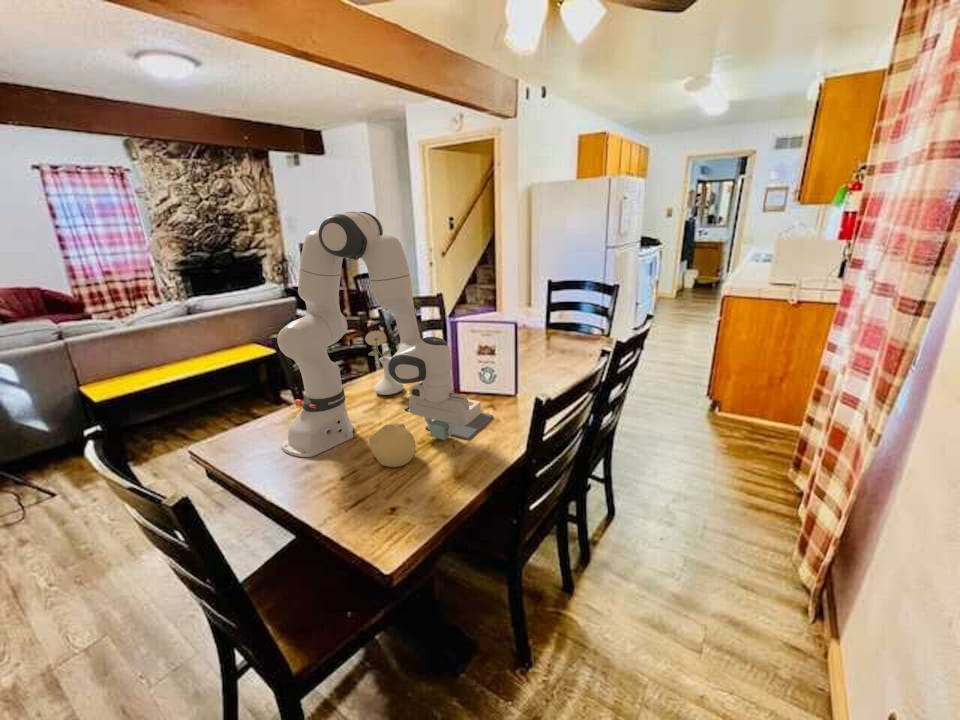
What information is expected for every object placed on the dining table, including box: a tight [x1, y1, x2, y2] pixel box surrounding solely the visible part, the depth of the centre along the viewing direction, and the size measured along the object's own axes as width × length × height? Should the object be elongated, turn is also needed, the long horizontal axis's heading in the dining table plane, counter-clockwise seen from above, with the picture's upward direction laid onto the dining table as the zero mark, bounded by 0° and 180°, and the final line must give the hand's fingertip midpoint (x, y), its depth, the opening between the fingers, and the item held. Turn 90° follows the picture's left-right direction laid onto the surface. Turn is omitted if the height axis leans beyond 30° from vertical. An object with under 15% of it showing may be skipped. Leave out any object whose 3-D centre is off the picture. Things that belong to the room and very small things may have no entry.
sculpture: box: [368, 423, 417, 468], centre depth 123 cm, size 12×12×11 cm
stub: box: [429, 419, 451, 441], centre depth 135 cm, size 4×5×4 cm
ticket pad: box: [425, 398, 494, 441], centre depth 144 cm, size 17×16×5 cm
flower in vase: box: [364, 330, 404, 396], centre depth 168 cm, size 13×11×25 cm
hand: (440, 431), depth 135 cm, fingers closed on stub, 5 cm apart
